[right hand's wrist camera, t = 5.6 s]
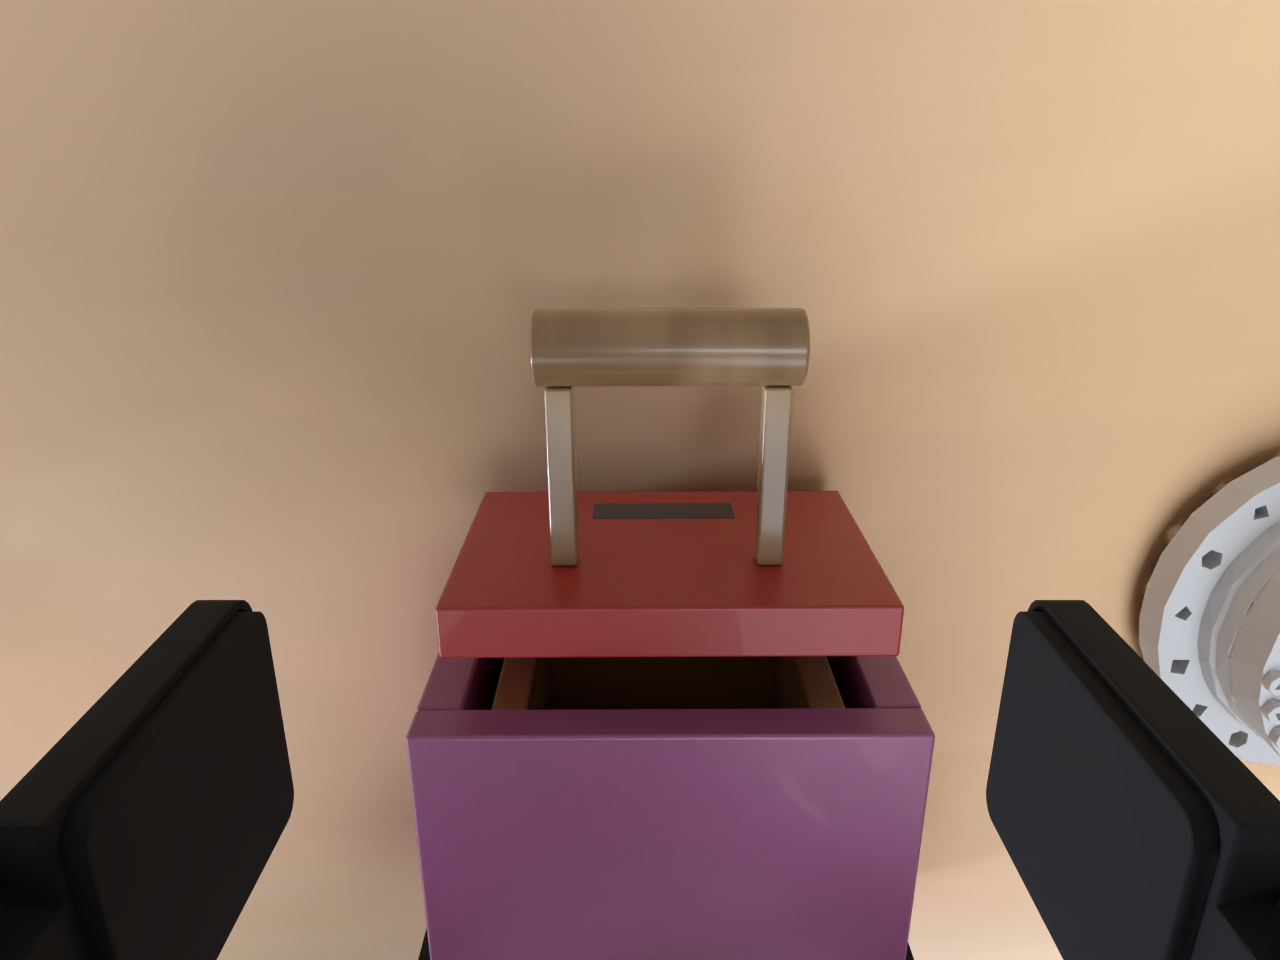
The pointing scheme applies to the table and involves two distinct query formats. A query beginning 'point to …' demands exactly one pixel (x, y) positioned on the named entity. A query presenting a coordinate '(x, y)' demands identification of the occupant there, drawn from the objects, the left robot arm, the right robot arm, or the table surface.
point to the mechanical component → (1223, 614)
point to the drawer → (667, 543)
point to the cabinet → (669, 824)
